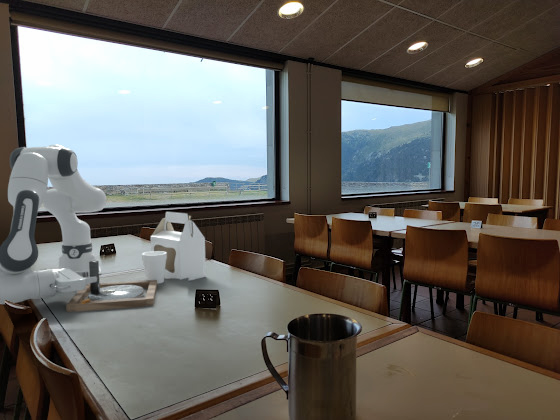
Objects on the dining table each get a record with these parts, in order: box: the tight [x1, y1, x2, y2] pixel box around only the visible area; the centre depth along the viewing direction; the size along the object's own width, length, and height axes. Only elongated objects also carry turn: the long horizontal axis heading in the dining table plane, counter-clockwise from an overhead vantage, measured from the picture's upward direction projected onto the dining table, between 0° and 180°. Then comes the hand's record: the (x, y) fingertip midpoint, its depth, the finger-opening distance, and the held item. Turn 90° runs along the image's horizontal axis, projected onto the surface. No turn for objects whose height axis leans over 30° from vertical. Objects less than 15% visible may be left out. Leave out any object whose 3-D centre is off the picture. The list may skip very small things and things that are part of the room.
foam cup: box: [141, 251, 167, 285], centre depth 165 cm, size 10×9×13 cm
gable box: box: [150, 211, 207, 281], centre depth 180 cm, size 22×13×28 cm, turn 49°
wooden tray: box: [65, 279, 158, 313], centre depth 144 cm, size 26×26×4 cm
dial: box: [87, 260, 145, 301], centre depth 143 cm, size 18×18×13 cm
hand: (92, 276), depth 142 cm, fingers open, 8 cm apart
